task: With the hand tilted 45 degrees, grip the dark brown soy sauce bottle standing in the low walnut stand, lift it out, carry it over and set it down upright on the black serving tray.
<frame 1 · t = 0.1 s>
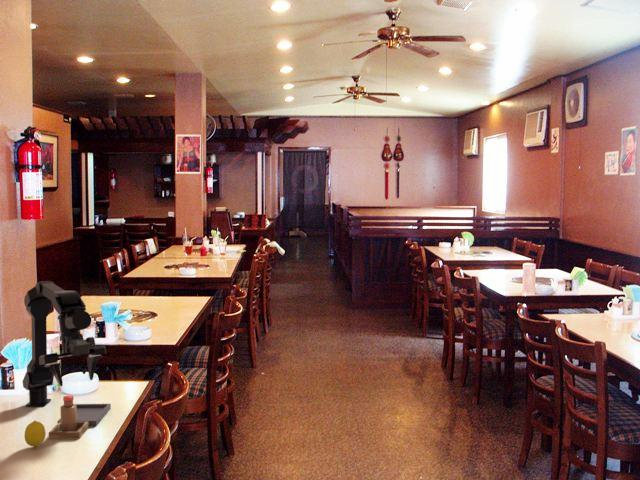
hand: (76, 382, 192), 15 cm above the table, tool pointing down, fingers open, 9 cm apart
bottle: (68, 415, 191), in the stand
stand: (69, 433, 192), on the table
lemon: (35, 448, 181), on the table
tray: (85, 417, 205), on the table
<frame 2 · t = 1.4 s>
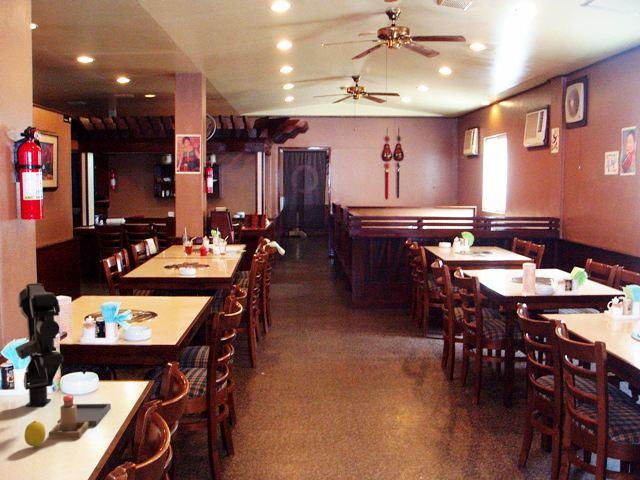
hand: (45, 379, 203), 13 cm above the table, tool pointing down, fingers open, 9 cm apart
nothing on the table moved.
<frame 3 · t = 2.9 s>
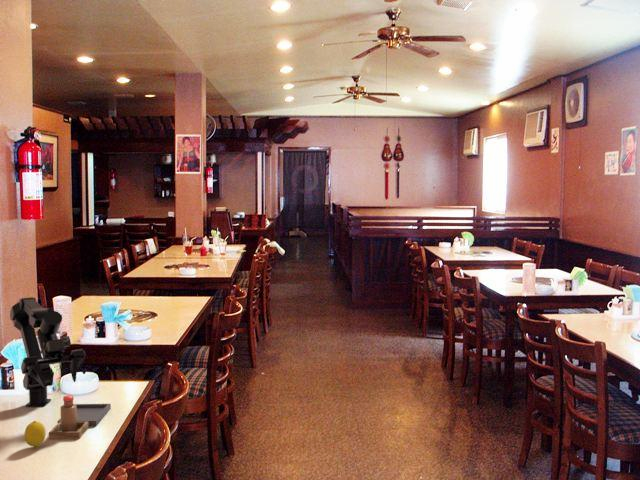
hand: (60, 383, 197), 13 cm above the table, tool tilted 45°, fingers open, 9 cm apart
nothing on the table moved.
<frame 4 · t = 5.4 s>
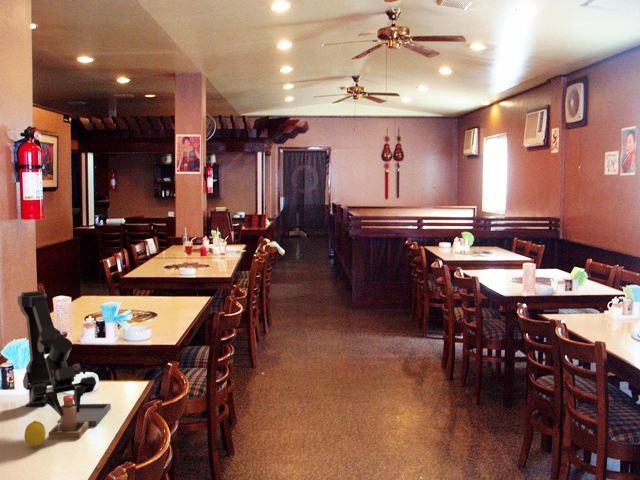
hand: (70, 413, 190), 7 cm above the table, tool tilted 45°, fingers closed on bottle, 5 cm apart
bottle: (68, 415, 191), in the stand, touching gripper
everything else where it was.
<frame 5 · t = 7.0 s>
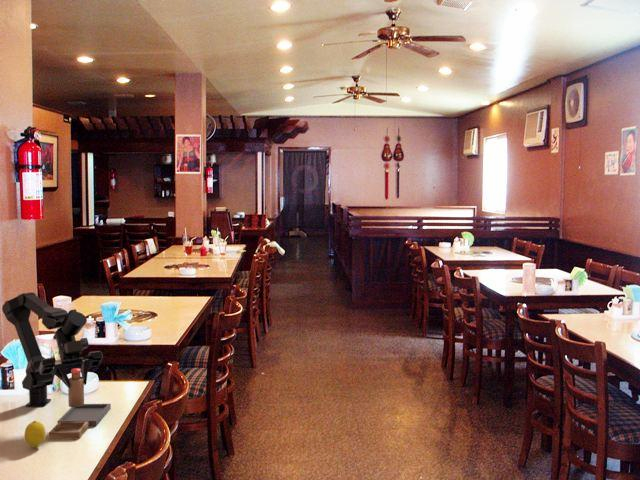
hand: (77, 385, 197), 13 cm above the table, tool tilted 45°, fingers closed on bottle, 5 cm apart
bottle: (76, 387, 198), point 12 cm above the table, touching gripper
everything else where it was.
when the fingers open (8 cm above the table, at t = 8.5 s): bottle stays where it is, resting on tray.
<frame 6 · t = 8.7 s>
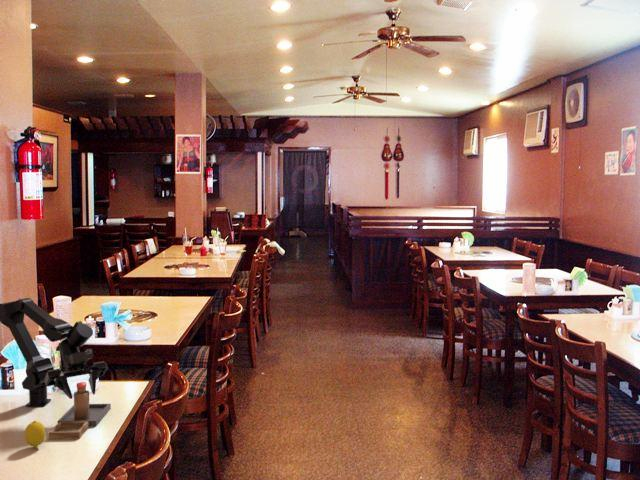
hand: (83, 396, 201), 9 cm above the table, tool tilted 45°, fingers open, 7 cm apart
bottle: (81, 400, 202), in the tray, point 7 cm above the table
everything else where it was.
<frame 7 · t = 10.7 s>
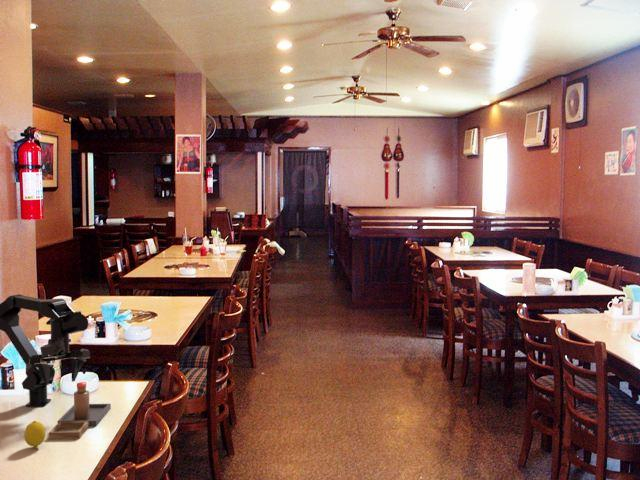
hand: (60, 383, 206), 11 cm above the table, tool tilted 20°, fingers open, 9 cm apart
nothing on the table moved.
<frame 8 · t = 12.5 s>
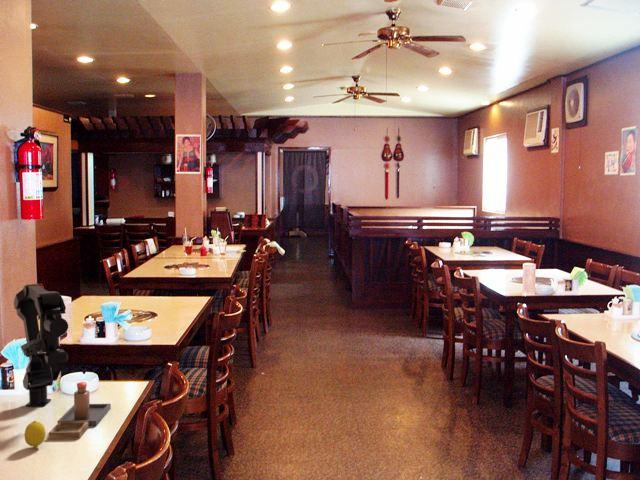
hand: (50, 377, 206), 13 cm above the table, tool pointing down, fingers open, 9 cm apart
nothing on the table moved.
at the end: bottle inside the target area on the tray (2.9 cm from its centre), point 6.6 cm above the tray's base; bottle tilted 1°; the gripper is holding nothing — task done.
